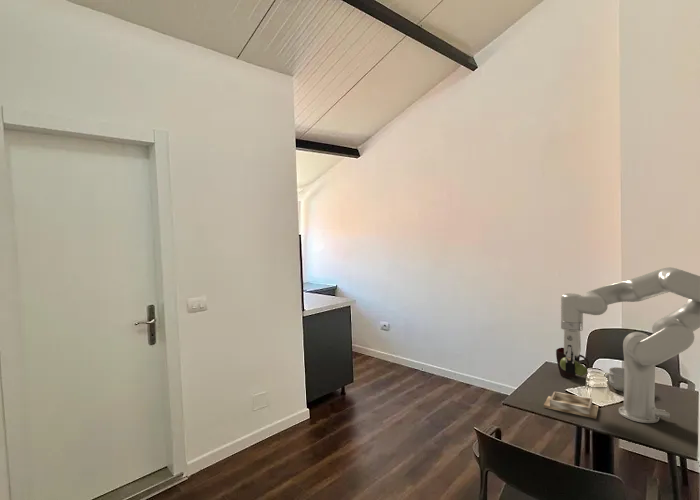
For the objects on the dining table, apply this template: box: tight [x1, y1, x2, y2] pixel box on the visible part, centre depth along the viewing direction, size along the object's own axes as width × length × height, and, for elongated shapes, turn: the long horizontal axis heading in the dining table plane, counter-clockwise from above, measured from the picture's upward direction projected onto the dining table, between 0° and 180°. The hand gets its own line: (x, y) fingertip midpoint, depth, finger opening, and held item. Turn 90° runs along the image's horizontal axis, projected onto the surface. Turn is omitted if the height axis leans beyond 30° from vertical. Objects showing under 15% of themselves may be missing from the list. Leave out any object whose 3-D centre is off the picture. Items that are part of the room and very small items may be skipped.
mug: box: [555, 347, 590, 379], centre depth 197 cm, size 10×14×12 cm
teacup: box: [604, 366, 624, 393], centre depth 181 cm, size 14×11×8 cm
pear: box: [560, 357, 588, 377], centre depth 163 cm, size 6×5×10 cm
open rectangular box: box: [543, 391, 599, 419], centre depth 164 cm, size 18×10×4 cm, turn 55°
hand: (571, 369), depth 164 cm, fingers closed on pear, 6 cm apart
